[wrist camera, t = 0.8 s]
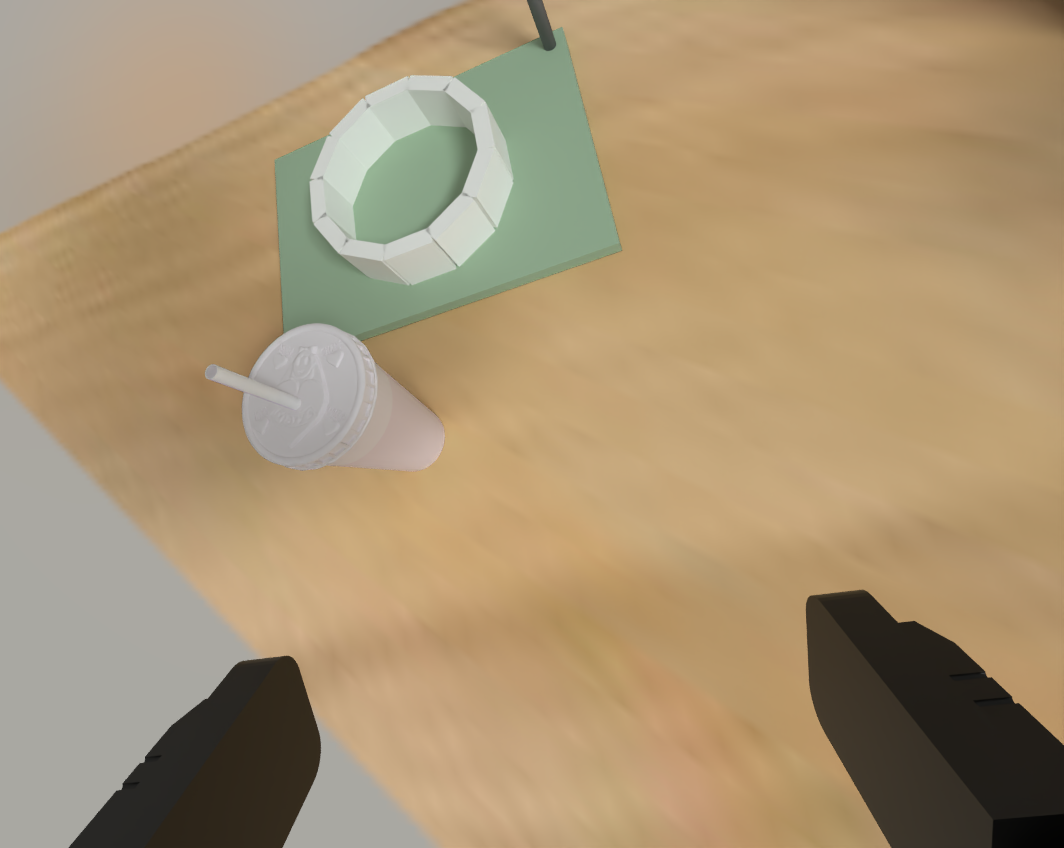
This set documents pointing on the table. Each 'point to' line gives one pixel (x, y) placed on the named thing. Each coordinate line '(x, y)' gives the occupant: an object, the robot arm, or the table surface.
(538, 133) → the practice green
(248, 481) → the table surface
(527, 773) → the table surface
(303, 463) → the smoothie
